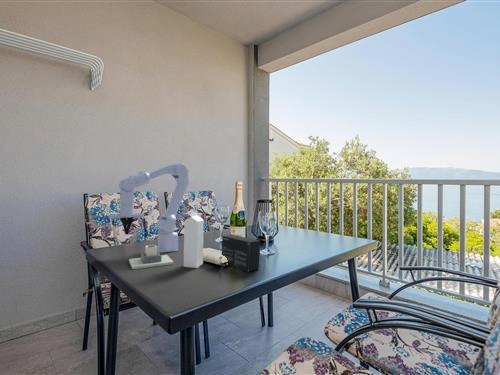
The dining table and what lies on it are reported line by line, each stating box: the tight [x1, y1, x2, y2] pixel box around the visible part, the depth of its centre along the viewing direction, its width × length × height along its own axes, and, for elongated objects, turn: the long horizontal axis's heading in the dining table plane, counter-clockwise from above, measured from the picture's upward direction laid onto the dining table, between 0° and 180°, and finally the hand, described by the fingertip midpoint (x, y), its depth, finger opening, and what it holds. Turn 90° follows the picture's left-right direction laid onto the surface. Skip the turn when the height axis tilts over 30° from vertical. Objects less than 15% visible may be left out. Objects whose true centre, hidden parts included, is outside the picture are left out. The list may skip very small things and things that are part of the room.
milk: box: [183, 211, 205, 269], centre depth 115 cm, size 6×6×22 cm
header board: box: [128, 251, 174, 270], centre depth 118 cm, size 16×12×4 cm
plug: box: [144, 244, 158, 257], centre depth 118 cm, size 4×4×7 cm
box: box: [221, 234, 261, 273], centre depth 116 cm, size 17×7×12 cm, turn 45°
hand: (126, 234), depth 128 cm, fingers closed
